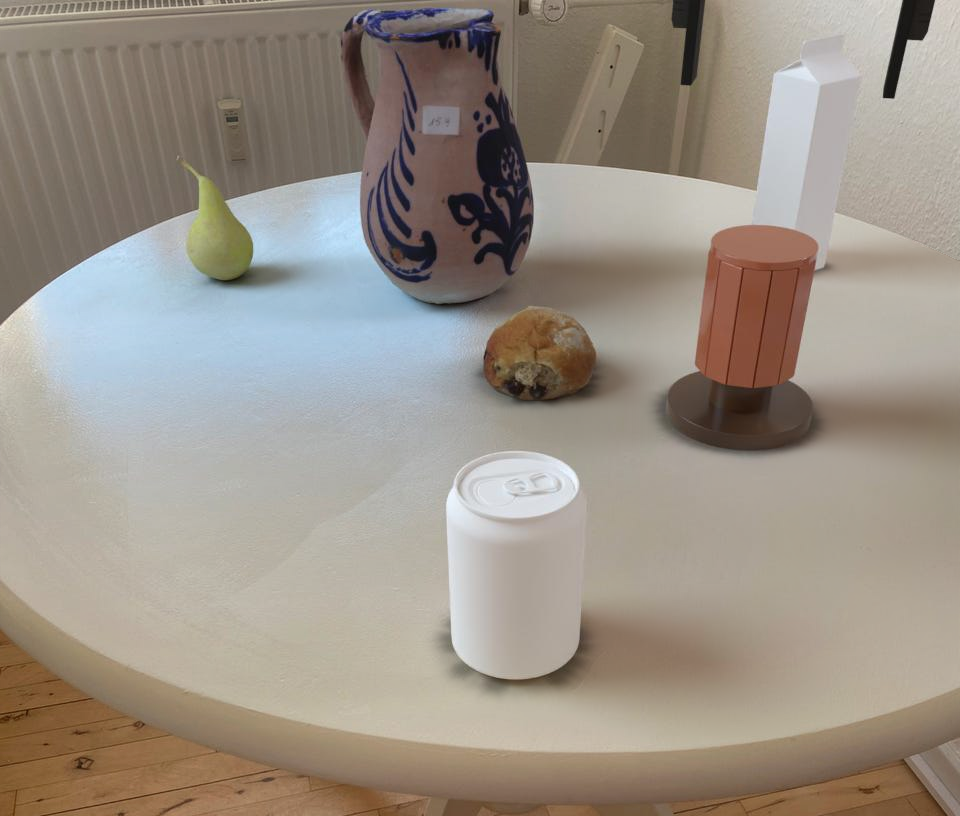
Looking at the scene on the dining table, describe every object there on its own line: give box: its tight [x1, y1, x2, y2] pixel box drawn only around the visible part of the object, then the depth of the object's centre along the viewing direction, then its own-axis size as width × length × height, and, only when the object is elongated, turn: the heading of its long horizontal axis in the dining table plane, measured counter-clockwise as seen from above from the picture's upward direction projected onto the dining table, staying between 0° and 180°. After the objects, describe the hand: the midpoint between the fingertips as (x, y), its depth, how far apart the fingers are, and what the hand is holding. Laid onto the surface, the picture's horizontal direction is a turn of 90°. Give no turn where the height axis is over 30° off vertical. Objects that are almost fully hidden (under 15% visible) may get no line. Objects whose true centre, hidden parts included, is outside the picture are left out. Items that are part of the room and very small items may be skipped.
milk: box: [751, 33, 863, 271], centre depth 108 cm, size 6×6×22 cm
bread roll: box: [483, 305, 597, 401], centre depth 94 cm, size 10×10×8 cm
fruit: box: [176, 155, 254, 281], centre depth 111 cm, size 7×8×12 cm
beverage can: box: [445, 450, 588, 680], centre depth 64 cm, size 8×8×12 cm
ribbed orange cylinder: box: [694, 224, 819, 388], centre depth 84 cm, size 8×8×10 cm
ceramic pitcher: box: [340, 6, 535, 305], centre depth 104 cm, size 18×21×25 cm
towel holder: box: [665, 370, 814, 452], centre depth 85 cm, size 12×12×14 cm
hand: (786, 87), depth 74 cm, fingers open, 13 cm apart
